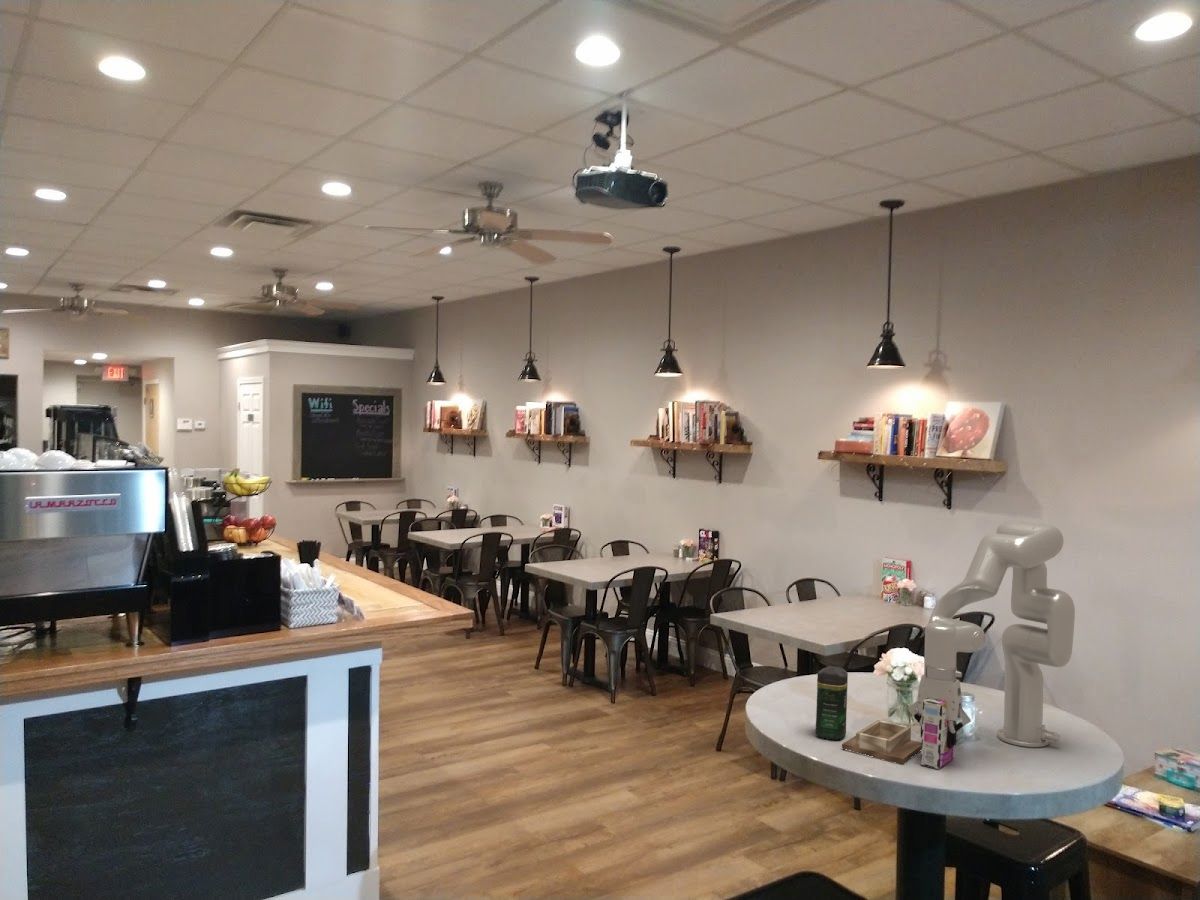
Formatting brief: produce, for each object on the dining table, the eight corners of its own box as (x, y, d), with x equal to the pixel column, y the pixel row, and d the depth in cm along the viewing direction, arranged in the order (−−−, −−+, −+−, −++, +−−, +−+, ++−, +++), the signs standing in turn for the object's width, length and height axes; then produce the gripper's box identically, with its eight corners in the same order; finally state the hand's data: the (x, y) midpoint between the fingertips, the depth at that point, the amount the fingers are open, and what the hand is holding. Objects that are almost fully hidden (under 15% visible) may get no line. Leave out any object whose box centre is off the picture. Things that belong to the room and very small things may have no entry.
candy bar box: (940, 770, 214) (942, 704, 214) (920, 765, 217) (921, 700, 217) (954, 759, 223) (956, 695, 223) (935, 754, 226) (936, 691, 226)
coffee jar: (842, 743, 233) (844, 673, 233) (812, 738, 236) (814, 669, 236) (848, 732, 241) (850, 666, 241) (820, 728, 245) (821, 662, 245)
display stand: (924, 748, 230) (924, 729, 230) (902, 764, 217) (903, 744, 217) (865, 735, 240) (866, 716, 240) (841, 749, 227) (842, 730, 227)
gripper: (979, 676, 217) (978, 748, 217) (911, 664, 228) (909, 733, 228) (971, 682, 211) (969, 756, 211) (900, 669, 222) (899, 740, 222)
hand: (938, 743), depth 220 cm, fingers open, 5 cm apart
